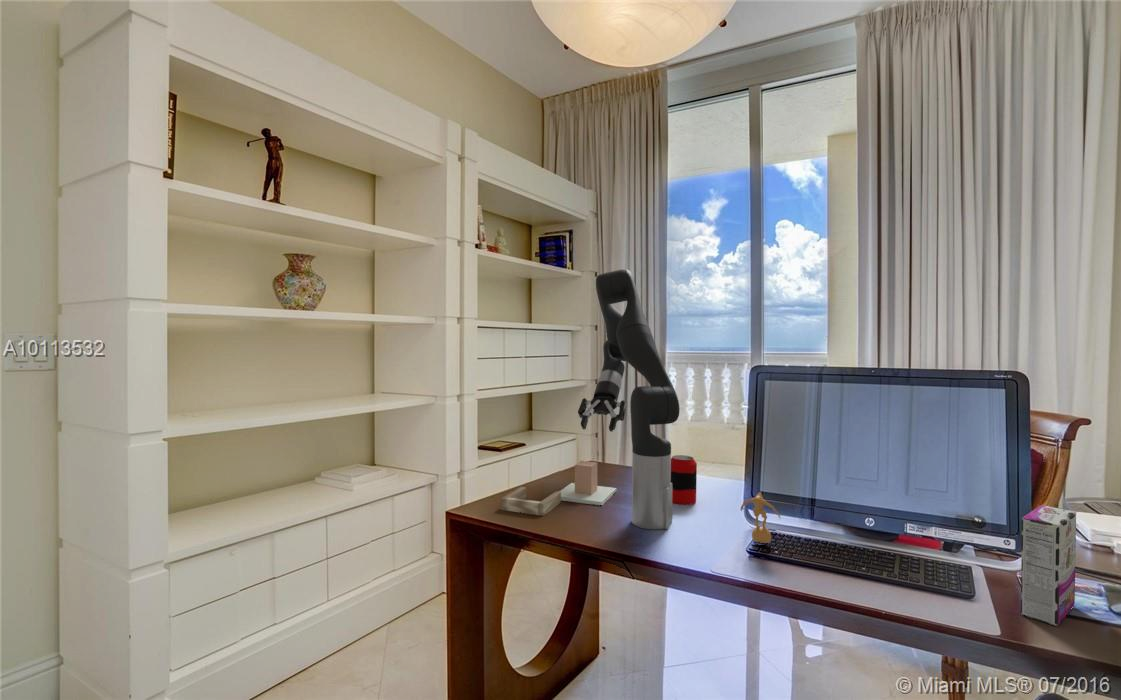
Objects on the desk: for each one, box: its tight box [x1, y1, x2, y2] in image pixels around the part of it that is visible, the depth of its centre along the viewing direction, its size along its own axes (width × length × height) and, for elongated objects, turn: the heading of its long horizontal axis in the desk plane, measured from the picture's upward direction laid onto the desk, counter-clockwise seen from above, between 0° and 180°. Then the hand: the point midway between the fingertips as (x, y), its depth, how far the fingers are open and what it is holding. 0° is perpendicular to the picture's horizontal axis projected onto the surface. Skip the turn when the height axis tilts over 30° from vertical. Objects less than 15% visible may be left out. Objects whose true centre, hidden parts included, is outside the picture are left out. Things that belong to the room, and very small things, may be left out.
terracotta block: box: [574, 460, 598, 495], centre depth 152 cm, size 5×5×8 cm
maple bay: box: [500, 486, 562, 517], centre depth 142 cm, size 12×12×3 cm
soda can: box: [671, 454, 698, 506], centre depth 148 cm, size 8×8×12 cm
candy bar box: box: [1020, 504, 1077, 627], centre depth 89 cm, size 11×5×16 cm, turn 126°
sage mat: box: [559, 482, 618, 506], centre depth 152 cm, size 14×14×1 cm
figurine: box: [740, 492, 781, 544], centre depth 116 cm, size 8×6×12 cm
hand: (596, 429), depth 161 cm, fingers open, 8 cm apart
